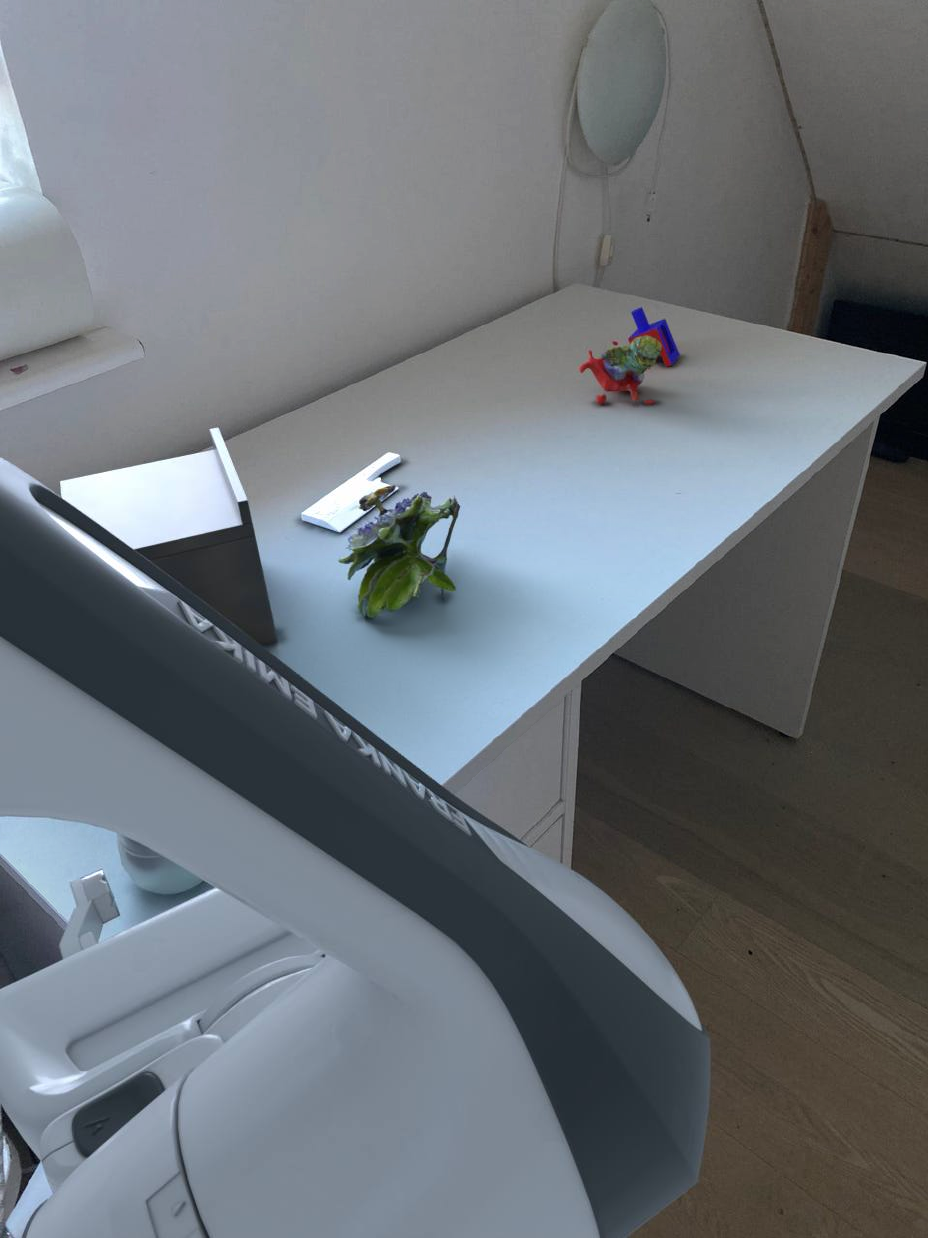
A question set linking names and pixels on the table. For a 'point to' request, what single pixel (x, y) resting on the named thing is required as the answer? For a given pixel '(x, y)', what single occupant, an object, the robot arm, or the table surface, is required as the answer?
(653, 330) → the blue and red dreidel
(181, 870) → the plastic bottle
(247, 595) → the block with raised lip
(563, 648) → the table surface
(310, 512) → the white plastic strip tool
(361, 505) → the passion flower
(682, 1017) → the robot arm
